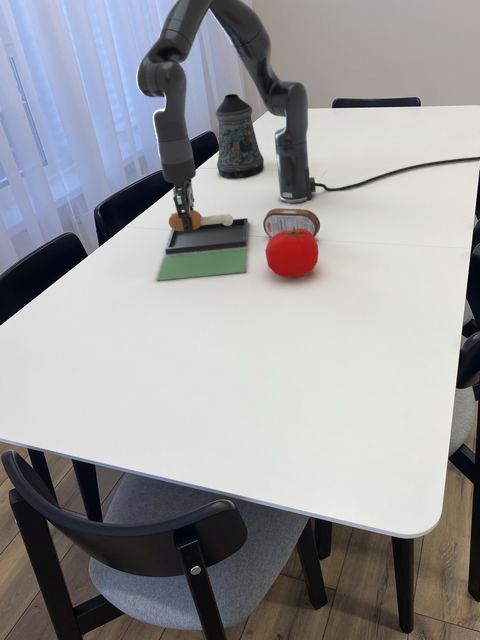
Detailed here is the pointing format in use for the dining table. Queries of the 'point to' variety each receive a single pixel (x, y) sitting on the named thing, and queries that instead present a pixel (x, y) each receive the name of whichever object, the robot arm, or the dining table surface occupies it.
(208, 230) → the pan
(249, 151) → the beer stein
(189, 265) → the napkin
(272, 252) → the tomato
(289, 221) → the tin
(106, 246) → the dining table surface
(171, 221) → the drumstick
